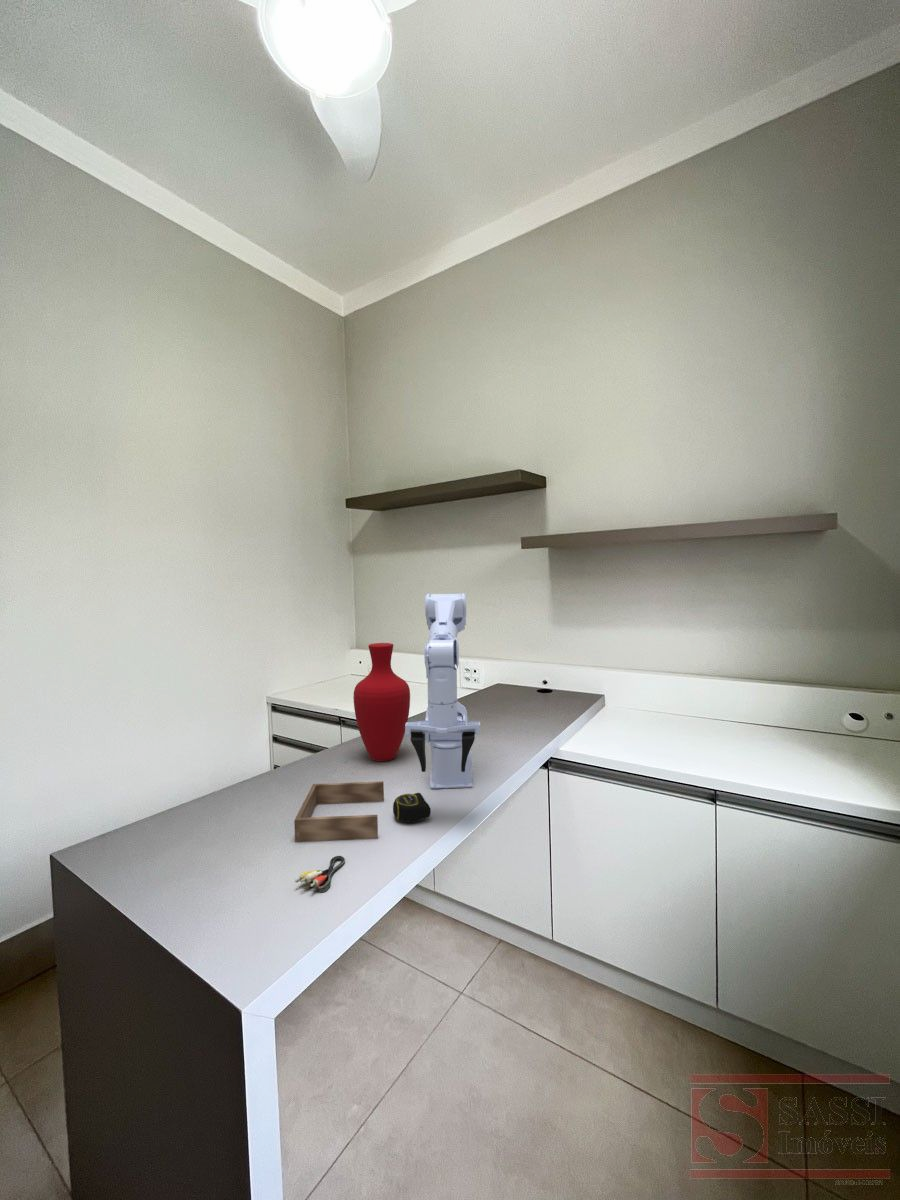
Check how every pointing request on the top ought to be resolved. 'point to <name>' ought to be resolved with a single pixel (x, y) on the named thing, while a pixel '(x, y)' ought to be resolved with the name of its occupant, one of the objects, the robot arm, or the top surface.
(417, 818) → the tape measure
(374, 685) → the vase
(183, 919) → the top surface
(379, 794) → the u-shaped wooden frame
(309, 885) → the composite cable
